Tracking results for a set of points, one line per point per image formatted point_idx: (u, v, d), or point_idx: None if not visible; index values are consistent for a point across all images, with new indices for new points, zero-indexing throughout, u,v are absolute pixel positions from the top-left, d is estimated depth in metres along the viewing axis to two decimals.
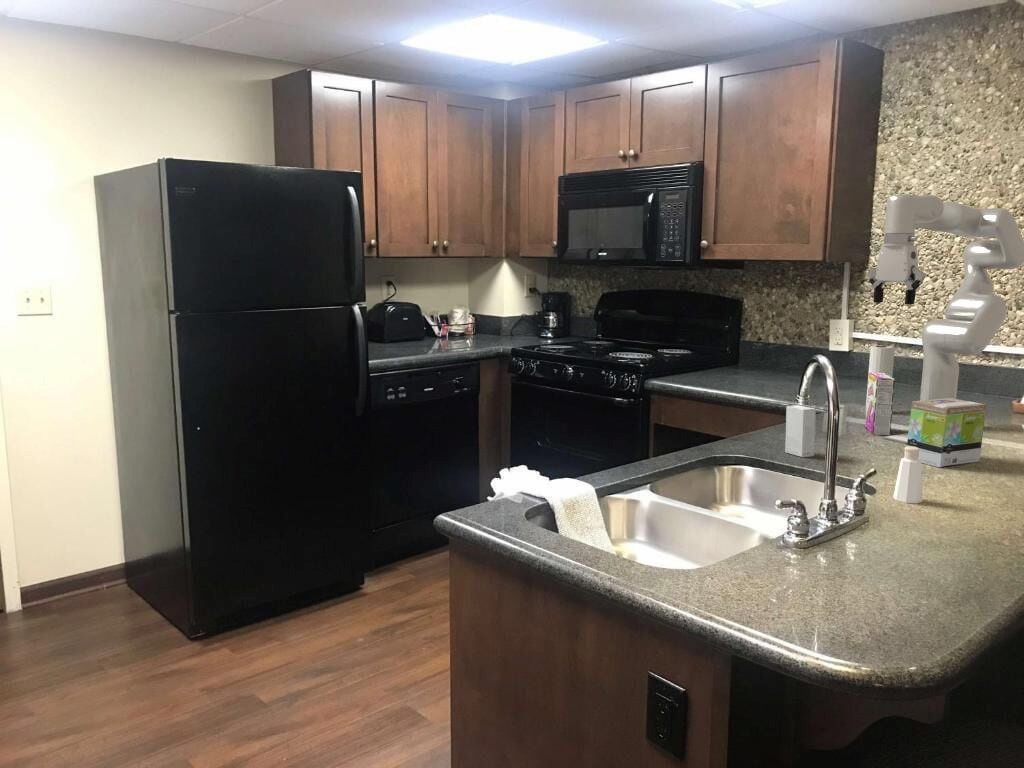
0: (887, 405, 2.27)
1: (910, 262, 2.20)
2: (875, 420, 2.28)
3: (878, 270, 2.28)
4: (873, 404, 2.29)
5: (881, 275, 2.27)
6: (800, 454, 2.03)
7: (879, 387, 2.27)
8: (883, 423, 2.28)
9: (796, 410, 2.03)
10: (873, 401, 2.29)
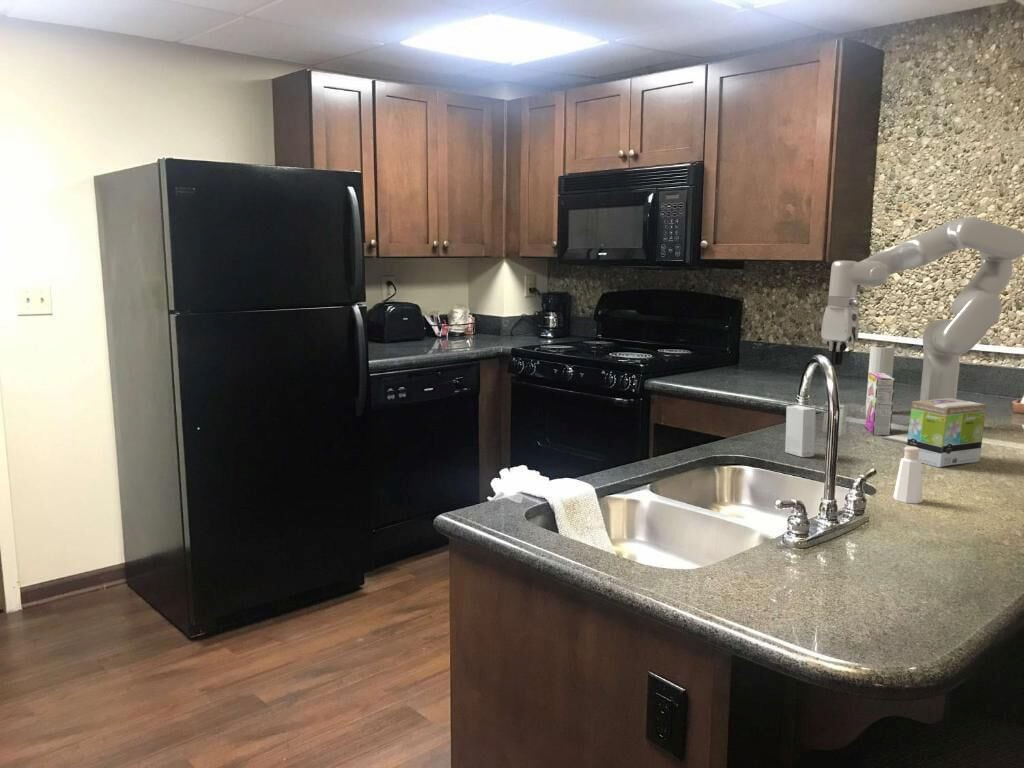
0: (887, 405, 2.27)
1: (851, 324, 2.37)
2: (875, 420, 2.28)
3: (823, 329, 2.45)
4: (873, 404, 2.29)
5: (825, 334, 2.44)
6: (800, 454, 2.03)
7: (879, 387, 2.27)
8: (883, 423, 2.28)
9: (796, 410, 2.03)
10: (873, 401, 2.29)
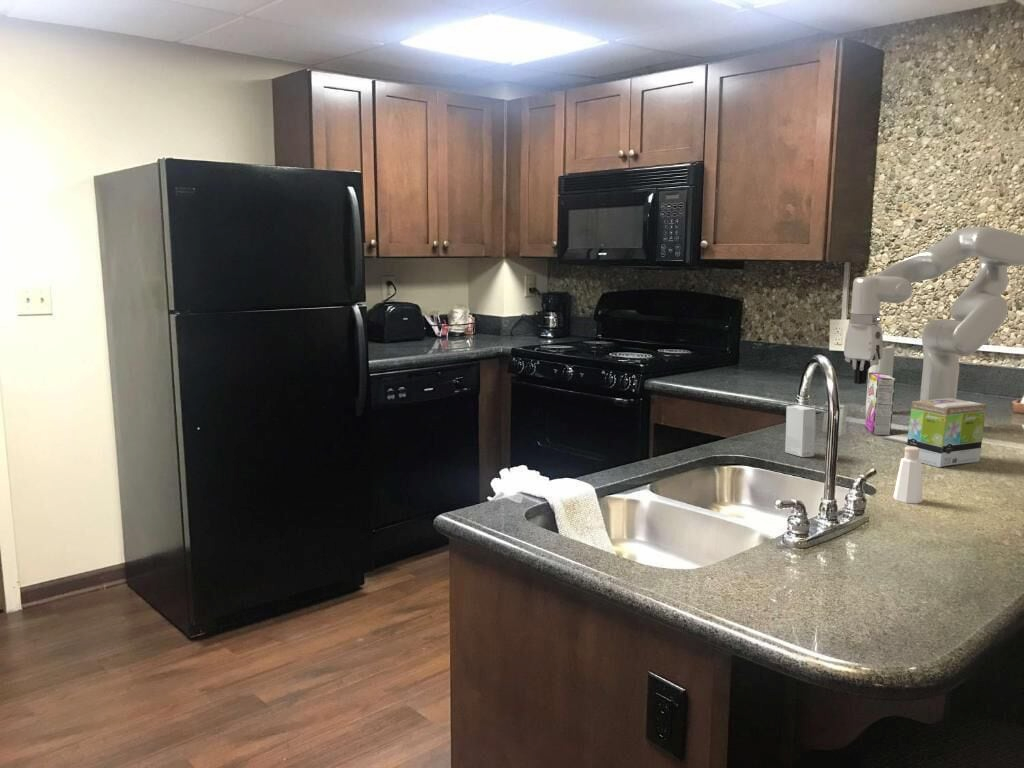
0: (887, 405, 2.27)
1: (875, 342, 2.31)
2: (875, 420, 2.28)
3: (846, 347, 2.39)
4: (873, 404, 2.29)
5: (848, 352, 2.38)
6: (800, 454, 2.03)
7: (879, 387, 2.27)
8: (883, 423, 2.28)
9: (796, 410, 2.03)
10: (873, 401, 2.29)
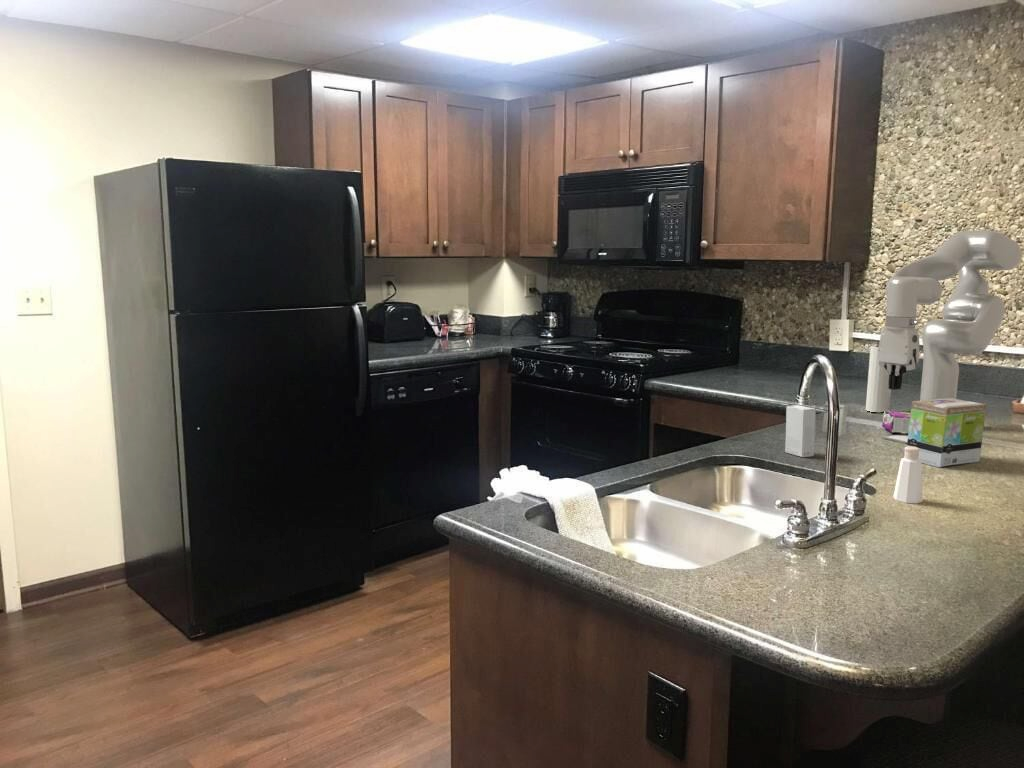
0: None
1: (911, 346, 2.21)
2: (909, 419, 2.27)
3: (880, 351, 2.29)
4: None
5: (883, 356, 2.28)
6: (800, 454, 2.03)
7: None
8: (906, 426, 2.27)
9: (796, 410, 2.03)
10: None
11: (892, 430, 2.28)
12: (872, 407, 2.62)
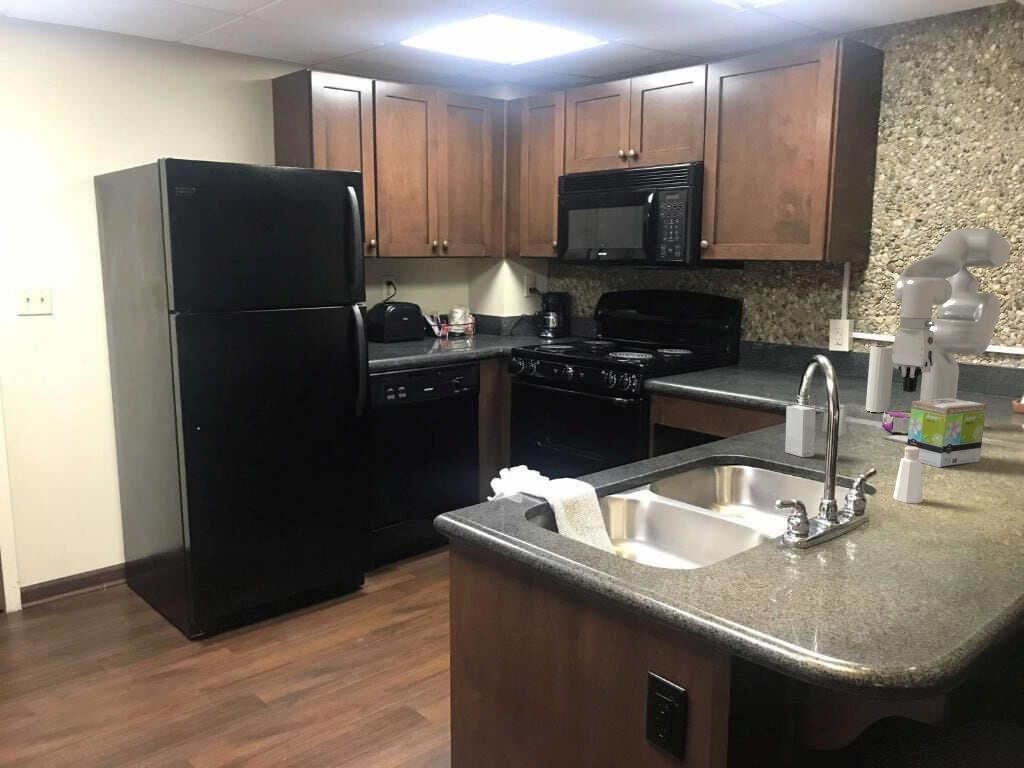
0: None
1: (927, 347, 2.17)
2: (909, 419, 2.27)
3: (894, 353, 2.25)
4: None
5: (897, 358, 2.24)
6: (800, 454, 2.03)
7: None
8: (906, 426, 2.27)
9: (796, 410, 2.03)
10: None
11: (892, 430, 2.28)
12: (872, 407, 2.62)
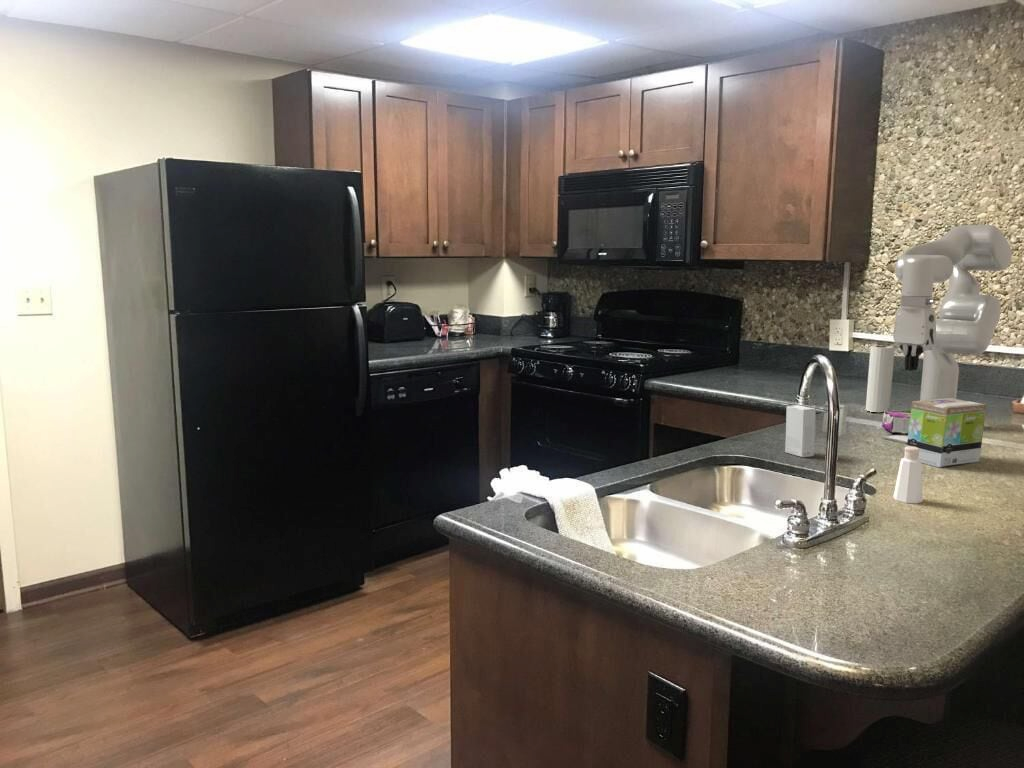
0: None
1: (928, 326, 2.17)
2: (909, 419, 2.27)
3: (895, 331, 2.25)
4: None
5: (898, 337, 2.24)
6: (800, 454, 2.03)
7: None
8: (906, 426, 2.27)
9: (796, 410, 2.03)
10: None
11: (892, 430, 2.28)
12: (872, 407, 2.62)
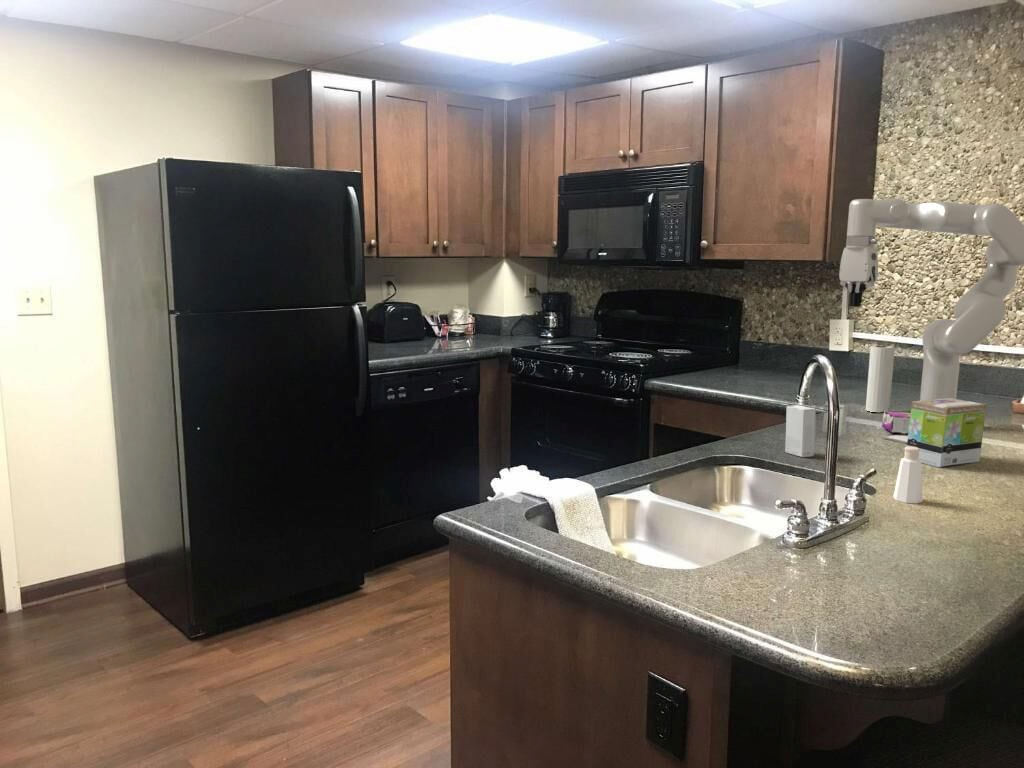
0: None
1: (870, 263, 2.33)
2: (909, 419, 2.27)
3: (841, 270, 2.40)
4: None
5: (844, 275, 2.40)
6: (800, 454, 2.03)
7: None
8: (906, 426, 2.27)
9: (796, 410, 2.03)
10: None
11: (892, 430, 2.28)
12: (872, 407, 2.62)
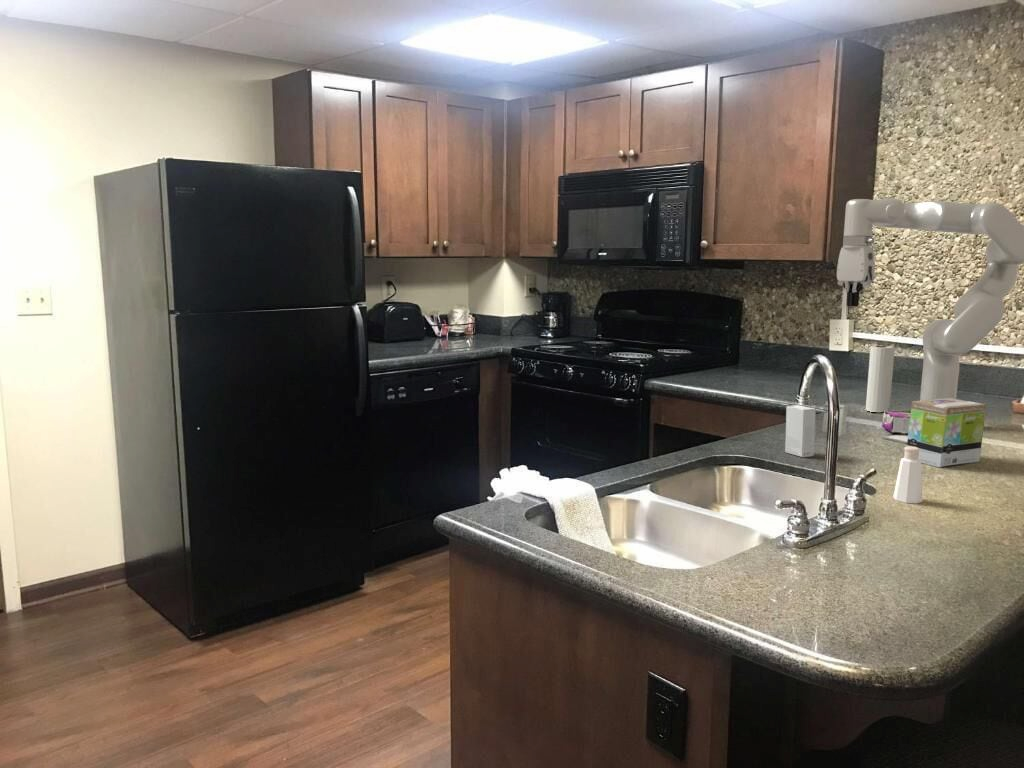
0: None
1: (867, 263, 2.34)
2: (909, 419, 2.27)
3: (838, 270, 2.41)
4: None
5: (841, 275, 2.41)
6: (800, 454, 2.03)
7: None
8: (906, 426, 2.27)
9: (796, 410, 2.03)
10: None
11: (892, 430, 2.28)
12: (872, 407, 2.62)
